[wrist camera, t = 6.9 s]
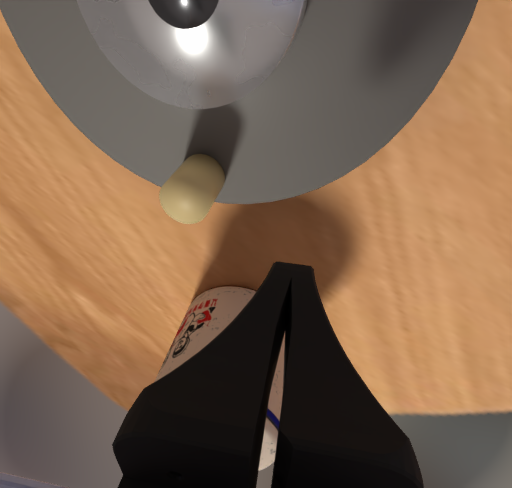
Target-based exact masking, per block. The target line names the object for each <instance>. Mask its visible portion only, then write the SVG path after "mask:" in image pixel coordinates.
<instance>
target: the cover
mask: <svg viewBox="0 0 512 488" xmlns="http://www.w3.org/2000/svg"><path fill="white" fill-rule="evenodd" d="M307 1H308V0H77V3H78V6H79V8H80V11H81V14H82V16H83V18H84V20H85V23H86V25H87V27H88V29H89V31H90V33H91V35H92V36H93V38H94V40H95V41H96V43H97V45H98V46H99V48H100V49H101V51H102V52H103V53H104V55H105V56H106V57H107V59H108V60H109V61H110V62H111V64H112V65H113V66H114V67H115V68H116V69H117V70H118V71H119V73H121V74H122V75H123V76H124V77H125V78H126V79H127V80H128V81H129V82H130V83H132V84H133V85H134V86H136V87H137V88H139V89H140V90H141V91H143V92H144V93H146V94H148V95H150V96H151V97H153V98H155V99H157V100H160V101H162V102H164V103H167V104H170V105H174V106H177V107H182V108H189V109H208V108H215V107H220V106H223V105H227V104H230V103H232V102H234V101H236V100H239V99H241V98H243V97H244V96H246V95H247V94H249V93H250V92H252V91H253V90H254V89H256V88H257V87H258V86H259V85H260V84H261V83H262V82H264V81H265V80H266V78H267V77H268V76H269V75H270V74H271V73H272V71H273V70H274V69H275V68H276V67H277V65H278V64H279V63H280V62H281V60H282V59H283V58H284V56H285V55H286V54H287V52H288V51H289V49H290V48H291V46H292V44H293V42H294V40H295V38H296V36H297V34H298V32H299V29H300V26H301V24H302V21H303V18H304V14H305V10H306V6H307Z"/></svg>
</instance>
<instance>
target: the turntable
mask: <svg viewBox="0 0 512 488" xmlns="http://www.w3.org/2000/svg"><path fill="white" fill-rule="evenodd" d="M477 2H478V0H308V1H307V6H306V10H305V14H304V18H303V21H302V24H301V26H300V29H299V32H298V34H297V36H296V38H295V40H294V42H293V44H292V46H291V48H290V49H289V51H288V52H287V54H286V55H285V56H284V58H283V59H282V60H281V62H280V63H279V64H278V65H277V67H276V68H275V69H274V70H273V71H272V73H271V74H270V75H269V76H268V77H267V78H266V80H265V81H264V82H262V83H261V84H260V85H259V86H258V87H257V88H256V89H254V90H253V91H252V92H250V93H249V94H247V95H246V96H244V97H243V98H241V99H239V100H236V101H234V102H232V103H230V104H227V105H223V106H220V107H215V108H208V109H189V108H182V107H177V106H174V105H170V104H167V103H164V102H162V101H160V100H157V99H155V98H153V97H151V96H150V95H148V94H146V93H144V92H143V91H141V90H140V89H139V88H137V87H136V86H134V85H133V84H132V83H130V82H129V81H128V80H127V79H126V78H125V77H124V76H123V75H122V74H121V73H119V71H118V70H117V69H116V68H115V67H114V66H113V65H112V64H111V62H110V61H109V60H108V59H107V57H106V56H105V55H104V53H103V52H102V51H101V49H100V48H99V46H98V45H97V43H96V41H95V40H94V38H93V36H92V35H91V33H90V31H89V29H88V27H87V25H86V23H85V20H84V18H83V16H82V14H81V11H80V8H79V6H78V3H77V0H0V9H1V12H2V14H3V17H4V19H5V21H6V23H7V25H8V27H9V29H10V31H11V33H12V35H13V37H14V39H15V41H16V43H17V45H18V47H19V49H20V50H21V52H22V54H23V55H24V57H25V59H26V60H27V62H28V64H29V65H30V67H31V69H32V70H33V72H34V74H35V75H36V77H37V78H38V80H39V81H40V83H41V84H42V85H43V87H44V88H45V90H46V91H47V92H48V94H49V95H50V96H51V98H52V99H53V101H54V102H55V103H56V104H57V106H58V107H59V108H60V109H61V110H62V111H63V112H64V114H65V115H66V116H67V117H68V118H69V119H70V121H71V122H72V123H73V124H74V125H75V126H76V127H77V128H78V129H79V130H80V131H81V132H82V133H83V134H84V135H85V136H86V137H87V138H88V139H89V140H90V141H91V142H92V143H94V144H95V145H96V146H97V147H98V148H100V149H101V150H102V151H103V152H105V153H106V154H107V155H108V156H110V157H111V158H112V159H113V160H115V161H116V162H118V163H119V164H121V165H122V166H124V167H125V168H127V169H128V170H130V171H131V172H133V173H135V174H136V175H138V176H140V177H142V178H144V179H146V180H148V181H150V182H152V183H154V184H155V185H157V186H160V187H161V190H160V194H159V198H160V203H161V206H162V208H163V209H164V211H165V212H166V213H167V214H168V215H169V216H170V217H171V218H172V219H174V220H176V221H178V222H180V223H184V224H194V223H198V222H200V221H201V220H203V219H204V218H205V217H206V215H207V213H208V212H209V210H210V208H211V207H212V205H213V203H214V202H218V203H227V204H254V203H265V202H273V201H278V200H282V199H287V198H291V197H295V196H298V195H301V194H304V193H307V192H310V191H313V190H315V189H318V188H320V187H322V186H324V185H326V184H328V183H330V182H333V181H335V180H337V179H339V178H341V177H342V176H344V175H346V174H347V173H349V172H350V171H352V170H353V169H355V168H356V167H358V166H359V165H361V164H363V163H364V162H365V161H367V160H368V159H369V158H370V157H372V156H373V155H374V154H375V153H376V152H378V151H379V150H380V149H381V148H382V147H384V146H385V145H386V144H387V143H388V142H389V141H390V140H391V139H392V138H393V137H394V136H395V135H396V134H397V133H398V132H399V131H400V130H401V129H402V128H403V127H404V126H405V125H406V124H407V123H408V122H409V121H410V120H411V118H412V117H413V116H414V114H415V113H416V112H417V111H418V109H419V108H420V107H421V105H422V104H423V103H424V102H425V100H426V99H427V98H428V96H429V95H430V94H431V92H432V91H433V89H434V88H435V86H436V85H437V83H438V81H439V80H440V78H441V76H442V75H443V73H444V72H445V70H446V68H447V67H448V65H449V63H450V62H451V60H452V59H453V56H454V54H455V52H456V50H457V48H458V46H459V44H460V42H461V40H462V38H463V36H464V33H465V31H466V29H467V27H468V25H469V23H470V21H471V18H472V16H473V13H474V10H475V7H476V4H477Z"/></svg>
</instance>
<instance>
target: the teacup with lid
mask: <svg viewBox="0 0 512 488" xmlns="http://www.w3.org/2000/svg"><path fill="white" fill-rule="evenodd" d="M256 292H257V291H254V290H251V289H247V288H242V287H233V286H226V287H218V288H213V289H210V290H207V291H205V292H203V293H202V294H200V295H199V296H197V297H196V298H195V299H194V300H193V301H192V303H191V304H190V306H189V308H188V310H187V313H186V315H185V317H184V319H183V321H182V323H181V326H180V328H179V330H178V332H177V334H176V336H175V338H174V341H173V343H172V345H171V347H170V349H169V351H168V354H167V356H166V358H165V360H164V362H163V364H162V366H161V369H160V371H159V373H158V375H157V377H156V379H155V381H157V380H159V379H160V378H162V377H163V376H165V375H167V374H168V373H170V372H171V371H173V370H174V369H176V368H177V367H179V366H180V365H181V364H183V363H184V362H185V361H187V360H188V359H190V358H191V357H192V356H194V355H195V354H196V353H198V352H199V351H200V350H201V349H203V348H204V347H205V346H206V345H207V344H208V343H210V342H211V341H212V340H213V339H214V338H215V337H216V336H217V335H219V334H220V333H221V332H222V331H223V330H224V329H225V328H226V327H227V326H228V325H229V324H230V323H231V322H232V321H233V320H234V319H235V317H236V316H237V315H238V314H239V313H240V312H241V311H242V309H243V308H244V307H245V306H246V305H247V303H248V302H249V301H250V300H251V298H252V297H253V296H254V294H255V293H256ZM284 347H285V333H284V337H283V342H282V346H281V350H280V354H279V358H278V362H277V366H276V370H275V374H274V378H273V382H272V387H271V392H270V397H269V403H268V409H267V416H266V423H265V429H264V436H263V443H262V449H261V456H260V463H259V470H262V469H264V468H266V467H268V466H269V465H271V464H272V463H273V462H274V461H275V453H276V445H277V437H278V429H279V421H280V413H281V405H282V395H283V375H284ZM259 470H258V471H259Z"/></svg>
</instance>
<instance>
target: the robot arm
mask: <svg viewBox="0 0 512 488" xmlns="http://www.w3.org/2000/svg"><path fill="white" fill-rule="evenodd" d="M284 333H285V347H284V375H283V395H282V405H281V413H280V421H279V429H278V437H277V445H276V453H275V461H274V468H273V476H272V484H271V488H424V486H423V480H422V475H421V472H420V468H419V465H418V462H417V459H416V456H415V453H414V450H413V447H412V445H411V442H410V440H409V438H408V437H407V436H406V435H405V433H403V431H402V430H401V429H400V428H399V427H398V425H396V423H395V422H394V421H393V420H392V418H391V417H390V416H389V415H388V414H387V412H386V411H385V410H384V409H383V407H382V406H381V405H380V403H379V402H378V401H377V400H376V398H375V397H374V396H373V394H372V393H371V392H370V390H369V389H368V387H367V386H366V384H365V383H364V382H363V380H362V379H361V377H360V376H359V374H358V373H357V371H356V370H355V368H354V367H353V365H352V364H351V362H350V360H349V359H348V357H347V355H346V354H345V352H344V350H343V348H342V346H341V345H340V343H339V341H338V339H337V337H336V335H335V333H334V331H333V328H332V326H331V324H330V322H329V320H328V317H327V315H326V312H325V310H324V307H323V304H322V302H321V299H320V296H319V293H318V289H317V286H316V282H315V277H314V269H313V268H312V267H311V266H306V265H298V264H291V263H283V262H275V263H273V265H272V268H271V270H270V271H269V273H268V275H267V277H266V278H265V280H264V282H263V283H262V285H261V286H260V287H259V289H258V290H257V292H256V293H255V294H254V296H253V297H252V298H251V300H250V301H249V302H248V303H247V305H246V306H245V307H244V308H243V309H242V311H241V312H240V313H239V314H238V315H237V316H236V317H235V319H234V320H233V321H232V322H231V323H230V324H229V325H228V326H227V327H226V328H225V329H224V330H223V331H222V332H221V333H220V334H219V335H217V336H216V337H215V338H214V339H213V340H212V341H211V342H210V343H208V344H207V345H206V346H205V347H204V348H203V349H201V350H200V351H199V352H198V353H196V354H195V355H194V356H192V357H191V358H190V359H188V360H187V361H185V362H184V363H183V364H181V365H180V366H179V367H177V368H176V369H174V370H173V371H171V372H170V373H168V374H167V375H165V376H163V377H162V378H160V379H159V380H157V381H155V382H154V383H152V384H151V385H149V386H147V387H146V388H144V389H143V391H142V392H141V393H140V395H139V396H138V398H137V399H136V401H135V402H134V404H133V405H132V407H131V408H130V410H129V411H128V413H127V415H126V417H125V419H124V421H123V423H122V425H121V427H120V429H119V431H118V433H117V436H116V438H115V440H114V442H113V444H112V446H113V451H114V454H115V456H116V459H117V461H118V464H119V466H120V468H121V471H122V473H123V477H122V479H121V481H120V484H119V487H118V488H256V484H257V477H258V470H259V463H260V456H261V449H262V443H263V436H264V429H265V423H266V416H267V409H268V403H269V397H270V392H271V387H272V382H273V378H274V374H275V370H276V366H277V362H278V358H279V354H280V350H281V346H282V342H283V337H284ZM0 488H67V487H64V486H59V485H55V484H50V483H46V482H42V481H38V480H33V479H29V478H25V477H20V476H16V475H11V474H8V473H3V472H0Z"/></svg>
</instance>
